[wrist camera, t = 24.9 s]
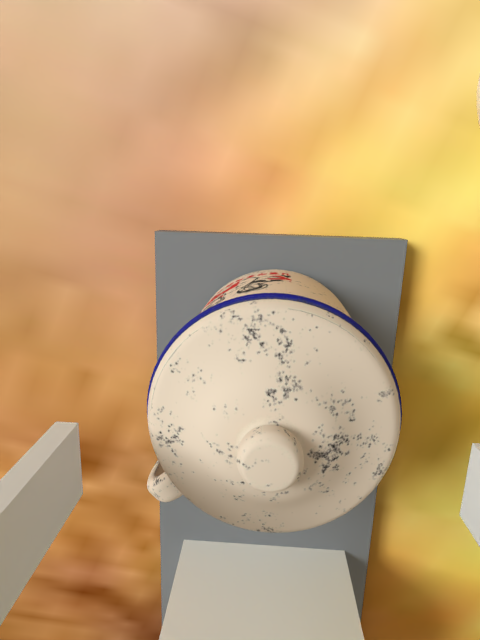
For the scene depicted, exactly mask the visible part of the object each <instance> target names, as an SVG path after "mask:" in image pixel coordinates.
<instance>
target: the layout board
mask: <svg viewBox="0 0 480 640" xmlns="http://www.w3.org/2000/svg"><path fill="white" fill-rule="evenodd" d="M407 241H408V240H405V239H401V238H376V237H346V236H317V235H287V234H258V233H229V232H199V231H170V230H159V231H155V264H156V319H157V362H158V359H159V357H160V355H161V354H162V352H163V351H164V349H165V347H166V346H167V344H168V343H169V342H170V340H171V339H172V338H173V337H174V335H175V334H176V333H177V332H178V331H179V330H180V329H181V328H182V327H183V326H184V325H186V324H187V323H188V322H189V321H190V320H191V319H193V318H194V317H196V316H197V315H199V313H200V312H201V311H202V309H203V308H204V307H205V305H206V304H207V303H208V302H209V300H210V299H211V298H212V297H213V296H214V294H215V293H216V292H217V291H219V290H220V289H221V288H222V287H223V286H225V285H226V284H227V283H229V282H231V281H232V280H234V279H236V278H238V277H240V276H243V275H245V274H248V273H251V272H256V271H261V270H272V269H277V270H287V271H293V272H296V273H300V274H303V275H305V276H308V277H310V278H312V279H314V280H316V281H318V282H319V283H321V284H322V285H324V286H325V287H326V288H327V289H329V290H330V291H331V292H332V293H333V294H334V295H335V296H336V297H337V298H338V300H339V301H340V302H341V303H342V305H343V306H344V308H345V309H346V311H347V312H348V314H349V315H350V317H351V318H352V319H353V320H354V321H355V322H357V323H358V324H359V325H361V326H362V327H363V328H364V329H365V330H366V331H367V332H368V333H369V334H370V335H371V336H372V338H373V339H374V340H375V341H376V342H377V344H378V345H379V346H380V348H381V349H382V351H383V352H384V354H385V355H386V357H387V359H388V361H389V363H390V365H391V367H392V363H393V355H394V347H395V339H396V330H397V322H398V314H399V306H400V298H401V290H402V282H403V274H404V266H405V257H406V249H407ZM376 493H377V486H376V487H375V488H374V490H373V491H372V492H371V493H370V494H369V495H368V496H367V497H366V498H365V499H364V500H363V501H362V502H361V503H359V504H358V505H357V506H356V507H355V508H353V509H352V510H350V511H349V512H347V513H346V514H344V515H342V516H341V517H339V518H337V519H335V520H333V521H331V522H328V523H326V524H323V525H320V526H317V527H314V528H310V529H306V530H302V531H295V532H284V533H269V532H259V531H253V530H248V529H243V528H240V527H236V526H233V525H230V524H228V523H225V522H223V521H221V520H218V519H216V518H214V517H212V516H211V515H209V514H207V513H206V512H204V511H202V510H201V509H200V508H198V507H197V506H195V505H194V504H193V503H192V502H191V501H189V500H188V499H187V498H186V497H185V496H184V495H182V496H180V497H179V498H177V499H175V500H173V501H170V502H161V501H160V540H161V595H162V625H163V621H164V617H165V613H166V609H167V605H168V601H169V597H170V593H171V589H172V585H173V581H174V577H175V573H176V569H177V565H178V561H179V557H180V553H181V549H182V545H183V541H184V540H197V541H212V542H226V543H241V544H255V545H270V546H284V547H299V548H313V549H327V550H342V551H345V555H346V560H347V564H348V569H349V573H350V578H351V582H352V587H353V591H354V596H355V600H356V605H357V609H358V614H359V618H360V622H361V614H362V606H363V598H364V590H365V582H366V574H367V566H368V557H369V549H370V541H371V533H372V525H373V517H374V509H375V501H376Z"/></svg>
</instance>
